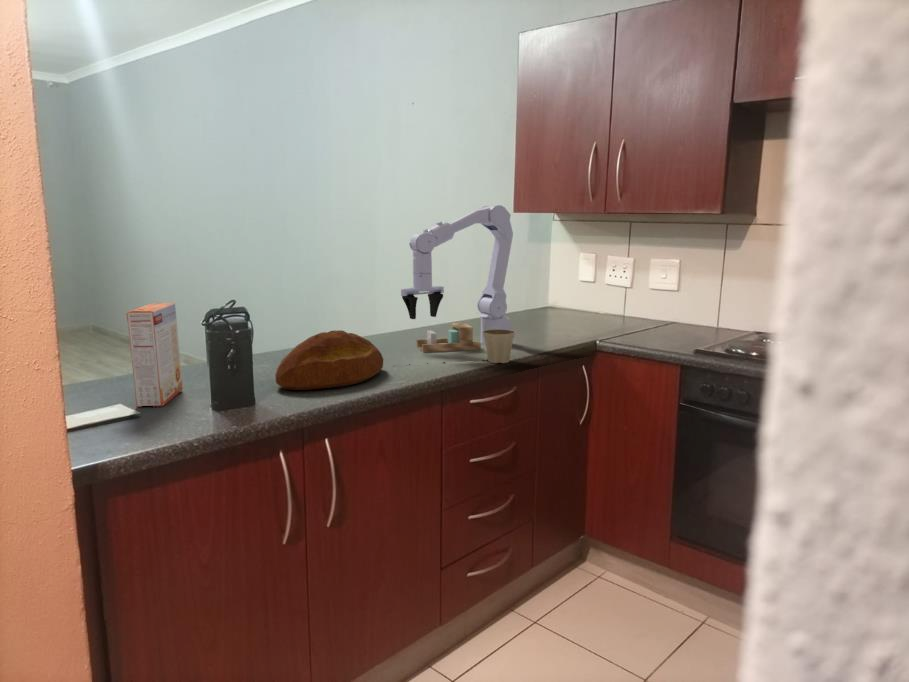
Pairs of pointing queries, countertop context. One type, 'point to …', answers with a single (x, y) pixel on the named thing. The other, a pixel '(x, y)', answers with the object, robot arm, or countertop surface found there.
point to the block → (453, 336)
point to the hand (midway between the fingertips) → (423, 317)
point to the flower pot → (498, 344)
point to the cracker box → (154, 353)
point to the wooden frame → (443, 344)
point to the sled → (431, 337)
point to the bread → (329, 362)
